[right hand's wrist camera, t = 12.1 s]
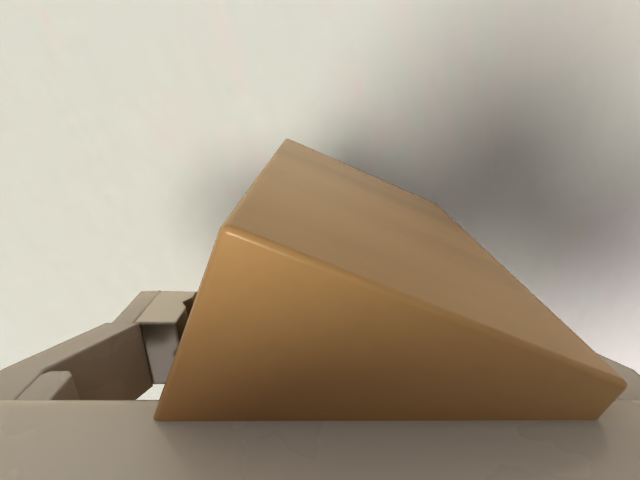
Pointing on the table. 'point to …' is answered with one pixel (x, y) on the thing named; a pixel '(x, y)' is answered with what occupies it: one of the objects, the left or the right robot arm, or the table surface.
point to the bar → (368, 315)
